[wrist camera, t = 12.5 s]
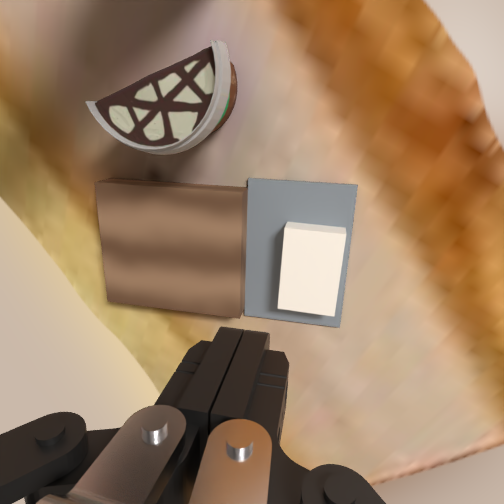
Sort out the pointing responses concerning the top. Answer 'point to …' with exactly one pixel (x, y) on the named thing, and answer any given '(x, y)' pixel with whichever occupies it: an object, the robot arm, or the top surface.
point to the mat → (272, 235)
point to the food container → (172, 104)
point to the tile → (311, 268)
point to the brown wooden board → (174, 245)
